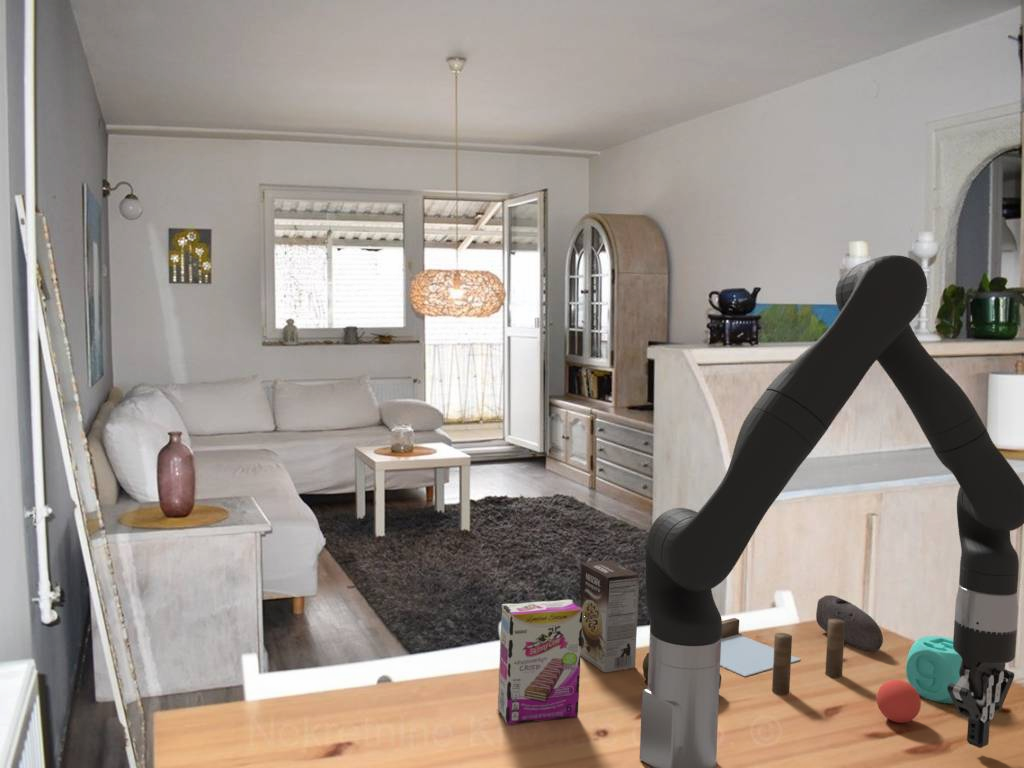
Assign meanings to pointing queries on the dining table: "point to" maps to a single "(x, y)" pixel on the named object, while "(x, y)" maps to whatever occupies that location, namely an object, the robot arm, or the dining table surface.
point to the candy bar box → (539, 661)
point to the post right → (835, 648)
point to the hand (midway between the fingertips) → (977, 744)
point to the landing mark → (746, 655)
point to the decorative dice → (933, 667)
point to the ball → (898, 701)
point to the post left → (782, 663)
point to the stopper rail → (730, 627)
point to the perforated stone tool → (850, 622)
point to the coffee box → (609, 615)
